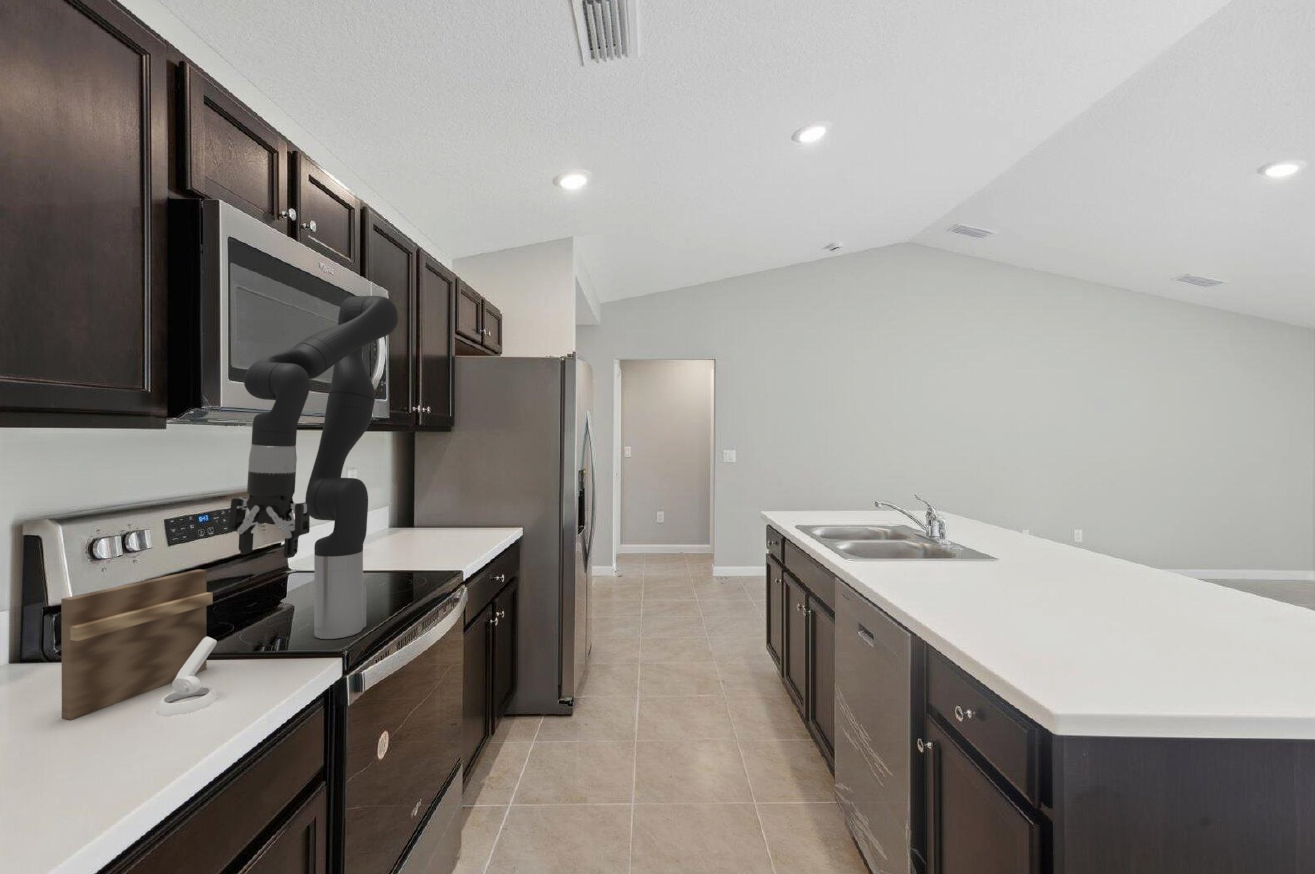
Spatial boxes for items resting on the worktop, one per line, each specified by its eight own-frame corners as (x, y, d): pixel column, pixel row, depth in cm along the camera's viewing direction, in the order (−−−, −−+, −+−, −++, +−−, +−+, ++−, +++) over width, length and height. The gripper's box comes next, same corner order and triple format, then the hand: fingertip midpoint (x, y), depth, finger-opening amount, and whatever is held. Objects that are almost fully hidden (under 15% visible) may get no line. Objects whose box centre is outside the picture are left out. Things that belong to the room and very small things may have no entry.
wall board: (198, 667, 109) (198, 569, 109) (212, 670, 108) (212, 570, 108) (61, 718, 90) (61, 598, 89) (77, 721, 89) (77, 600, 88)
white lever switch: (258, 656, 101) (231, 645, 95) (209, 730, 95) (177, 724, 89) (223, 642, 103) (194, 631, 97) (173, 715, 97) (139, 707, 91)
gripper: (321, 470, 115) (316, 554, 115) (251, 465, 116) (247, 548, 116) (295, 473, 107) (289, 563, 108) (220, 467, 108) (215, 556, 109)
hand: (267, 555), depth 112 cm, fingers open, 8 cm apart
